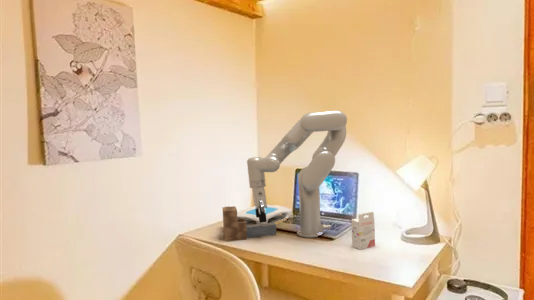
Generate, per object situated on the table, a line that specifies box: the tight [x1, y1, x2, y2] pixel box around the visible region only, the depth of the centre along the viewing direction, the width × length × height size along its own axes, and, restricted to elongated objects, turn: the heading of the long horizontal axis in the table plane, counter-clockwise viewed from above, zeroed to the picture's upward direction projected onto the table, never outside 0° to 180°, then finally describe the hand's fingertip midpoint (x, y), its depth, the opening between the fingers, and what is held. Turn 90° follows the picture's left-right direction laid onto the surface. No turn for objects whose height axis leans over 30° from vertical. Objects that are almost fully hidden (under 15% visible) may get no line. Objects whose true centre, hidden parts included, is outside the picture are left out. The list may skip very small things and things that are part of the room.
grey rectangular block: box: [246, 222, 277, 239], centre depth 180 cm, size 17×4×7 cm, turn 101°
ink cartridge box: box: [350, 211, 376, 250], centre depth 159 cm, size 9×5×15 cm, turn 117°
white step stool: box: [237, 204, 293, 225], centre depth 204 cm, size 21×28×6 cm
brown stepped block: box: [222, 206, 248, 242], centre depth 184 cm, size 10×22×14 cm, turn 10°
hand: (261, 219), depth 179 cm, fingers open, 9 cm apart
